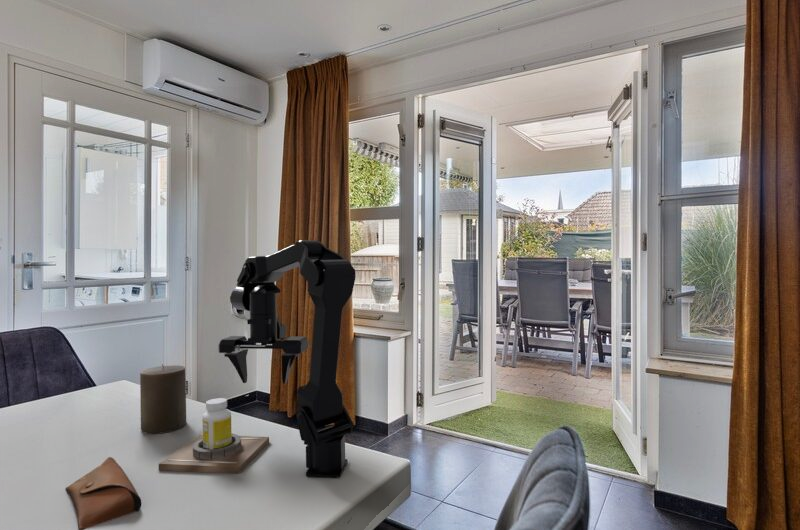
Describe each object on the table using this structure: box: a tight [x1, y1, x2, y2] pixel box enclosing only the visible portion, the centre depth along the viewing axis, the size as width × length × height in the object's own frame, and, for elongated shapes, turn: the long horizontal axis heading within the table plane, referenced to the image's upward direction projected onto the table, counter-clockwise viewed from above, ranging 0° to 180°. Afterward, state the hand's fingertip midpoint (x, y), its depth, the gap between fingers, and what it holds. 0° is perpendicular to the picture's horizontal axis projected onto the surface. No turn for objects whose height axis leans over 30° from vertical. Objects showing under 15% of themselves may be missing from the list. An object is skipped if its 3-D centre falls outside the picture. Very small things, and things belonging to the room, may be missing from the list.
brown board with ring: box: [158, 433, 270, 474], centre depth 92 cm, size 16×14×3 cm
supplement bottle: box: [202, 397, 233, 450], centre depth 92 cm, size 5×5×10 cm
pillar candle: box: [139, 364, 187, 435], centre depth 108 cm, size 10×10×15 cm
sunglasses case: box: [65, 456, 142, 530], centre depth 77 cm, size 18×7×7 cm, turn 43°
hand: (264, 383), depth 101 cm, fingers open, 9 cm apart
